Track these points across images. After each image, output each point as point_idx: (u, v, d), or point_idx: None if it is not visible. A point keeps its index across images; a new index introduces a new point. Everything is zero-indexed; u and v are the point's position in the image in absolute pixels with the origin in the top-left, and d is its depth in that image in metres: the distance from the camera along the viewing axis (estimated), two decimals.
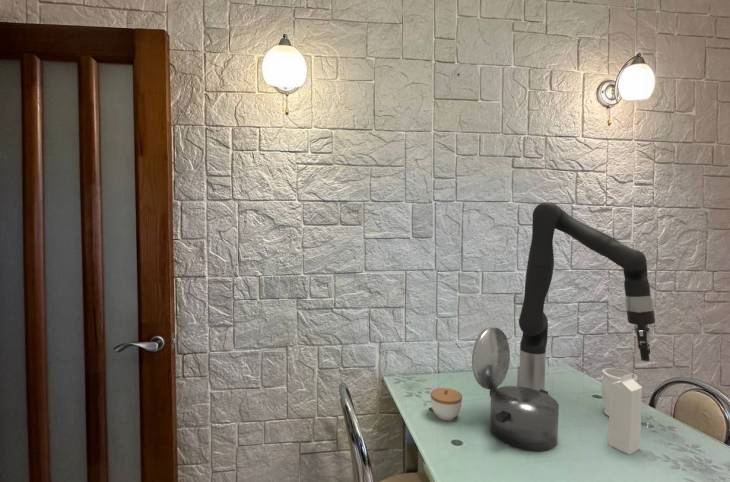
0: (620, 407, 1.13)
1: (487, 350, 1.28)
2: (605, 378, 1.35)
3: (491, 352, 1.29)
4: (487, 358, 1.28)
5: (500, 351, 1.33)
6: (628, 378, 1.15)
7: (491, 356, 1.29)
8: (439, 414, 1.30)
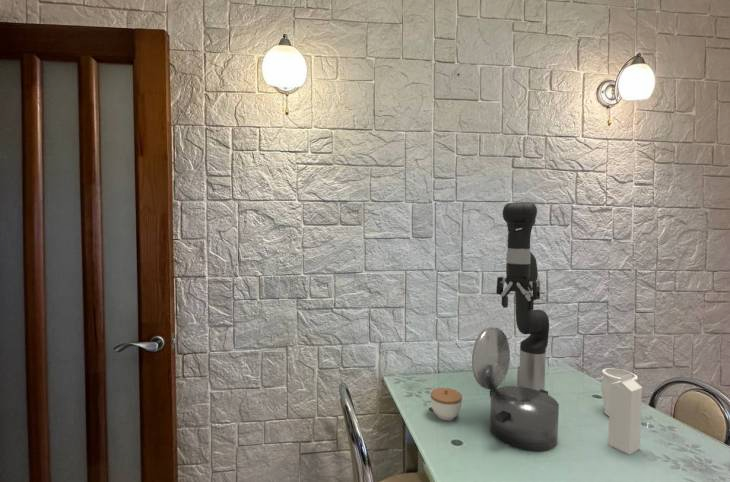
0: (620, 407, 1.13)
1: (487, 350, 1.28)
2: (605, 378, 1.35)
3: (491, 352, 1.29)
4: (487, 358, 1.28)
5: (500, 351, 1.33)
6: (628, 378, 1.15)
7: (491, 356, 1.29)
8: (439, 414, 1.30)
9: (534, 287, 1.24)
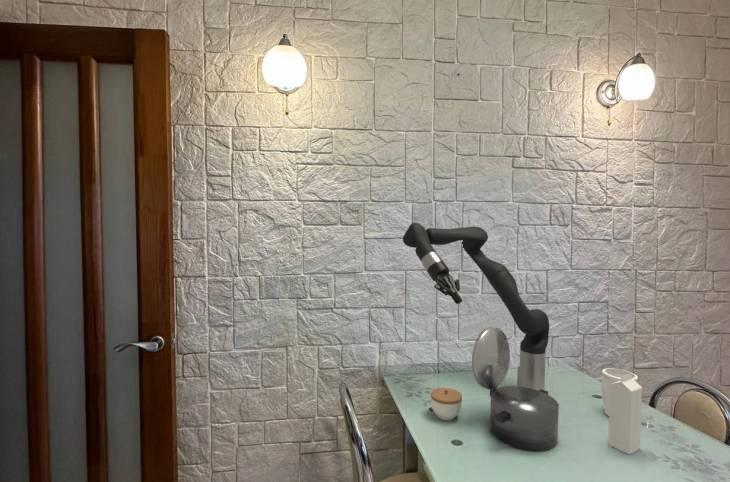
0: (620, 407, 1.13)
1: (487, 350, 1.28)
2: (605, 378, 1.35)
3: (491, 352, 1.29)
4: (487, 358, 1.28)
5: (500, 351, 1.33)
6: (628, 378, 1.15)
7: (491, 356, 1.29)
8: (439, 414, 1.30)
9: None
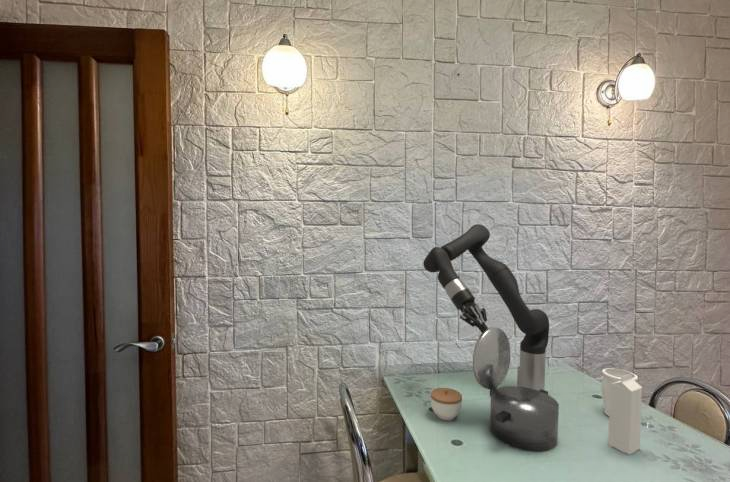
0: (620, 407, 1.13)
1: (488, 350, 1.28)
2: (605, 378, 1.35)
3: (492, 352, 1.29)
4: (488, 358, 1.28)
5: (500, 351, 1.33)
6: (628, 378, 1.15)
7: (491, 356, 1.29)
8: (439, 414, 1.30)
9: None
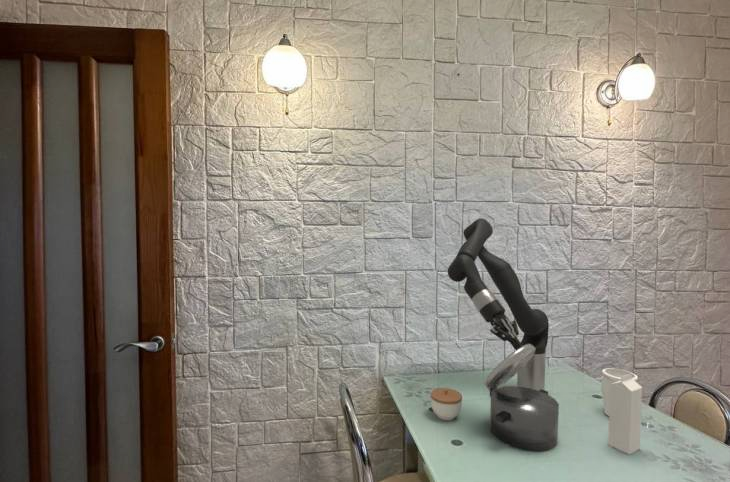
0: (620, 407, 1.13)
1: (512, 364, 1.21)
2: (605, 378, 1.35)
3: (513, 365, 1.23)
4: (507, 370, 1.22)
5: (521, 363, 1.27)
6: (628, 378, 1.15)
7: (511, 368, 1.24)
8: (439, 414, 1.30)
9: None
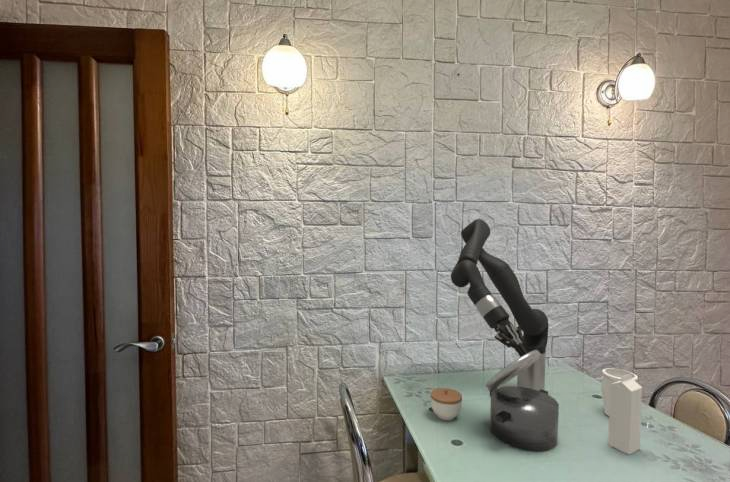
0: (620, 407, 1.13)
1: (516, 369, 1.20)
2: (605, 378, 1.35)
3: (517, 369, 1.22)
4: (510, 374, 1.22)
5: (524, 367, 1.26)
6: (628, 378, 1.15)
7: (514, 372, 1.23)
8: (439, 414, 1.30)
9: None
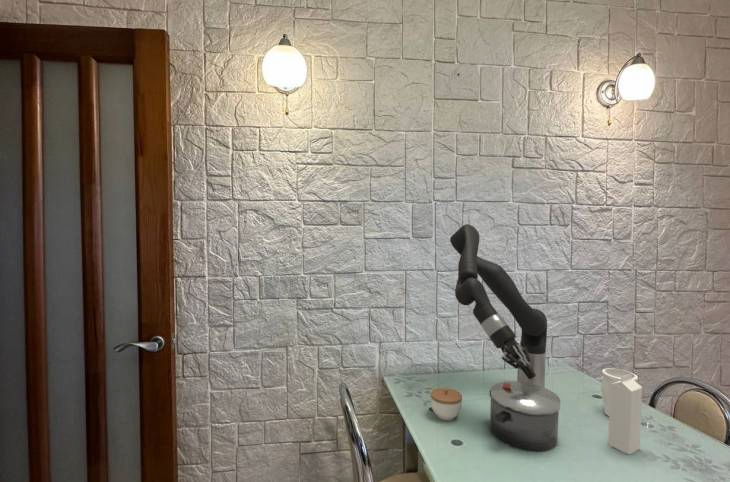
0: (620, 407, 1.13)
1: None
2: (605, 378, 1.35)
3: None
4: None
5: None
6: (628, 378, 1.15)
7: None
8: (439, 414, 1.30)
9: None
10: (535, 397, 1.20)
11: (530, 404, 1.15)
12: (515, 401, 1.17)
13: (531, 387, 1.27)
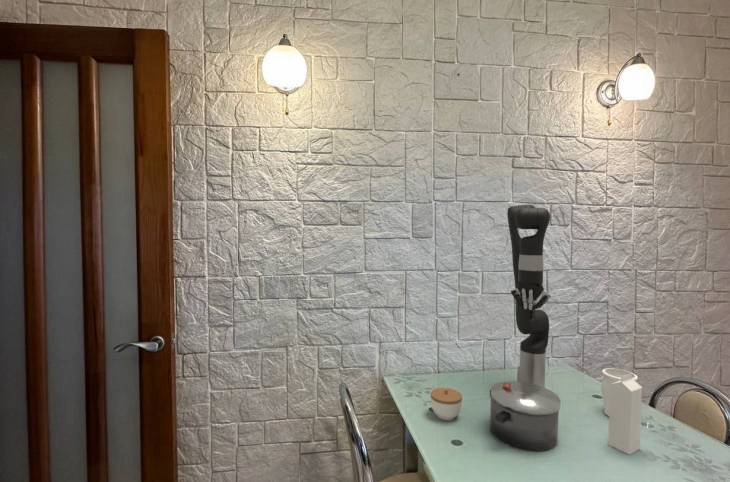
0: (620, 407, 1.13)
1: None
2: (605, 378, 1.35)
3: None
4: None
5: None
6: (628, 378, 1.15)
7: None
8: (439, 414, 1.30)
9: (542, 300, 1.22)
10: (535, 397, 1.20)
11: (530, 404, 1.15)
12: (515, 401, 1.17)
13: (531, 387, 1.27)
